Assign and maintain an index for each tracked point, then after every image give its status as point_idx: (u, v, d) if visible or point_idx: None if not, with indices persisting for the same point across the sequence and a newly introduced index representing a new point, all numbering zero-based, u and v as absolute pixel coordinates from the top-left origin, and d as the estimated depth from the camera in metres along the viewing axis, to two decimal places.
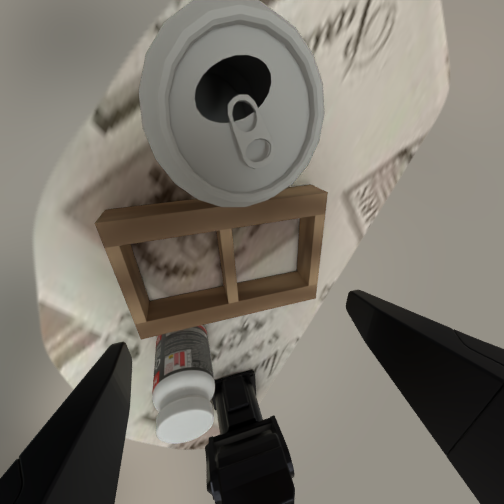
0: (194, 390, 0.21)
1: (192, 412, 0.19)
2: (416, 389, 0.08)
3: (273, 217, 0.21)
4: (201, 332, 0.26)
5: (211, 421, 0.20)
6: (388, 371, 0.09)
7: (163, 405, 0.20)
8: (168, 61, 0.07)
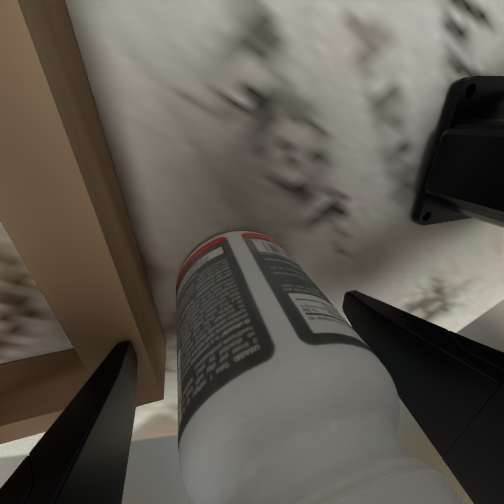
0: None
1: None
2: (412, 391, 0.08)
3: None
4: (198, 265, 0.09)
5: None
6: None
7: None
8: None
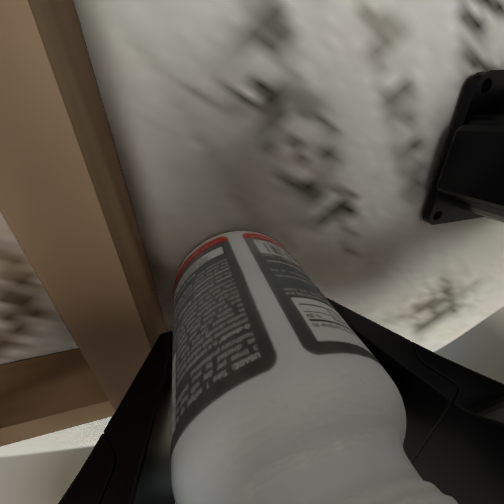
0: None
1: None
2: None
3: None
4: (196, 264, 0.09)
5: None
6: None
7: None
8: None
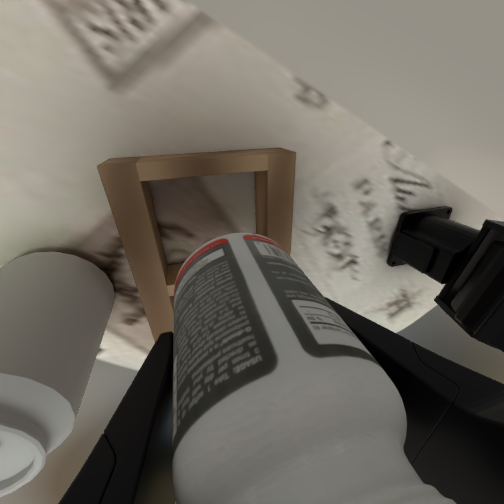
0: None
1: None
2: None
3: (148, 242, 0.16)
4: (197, 266, 0.09)
5: None
6: None
7: None
8: None
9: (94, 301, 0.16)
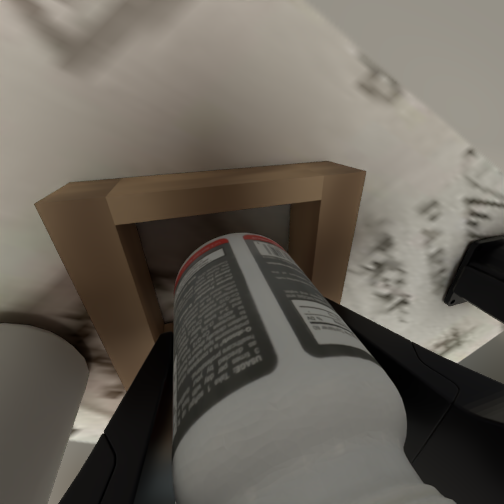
0: None
1: None
2: None
3: (133, 314, 0.10)
4: (197, 266, 0.09)
5: None
6: None
7: None
8: None
9: (46, 409, 0.10)
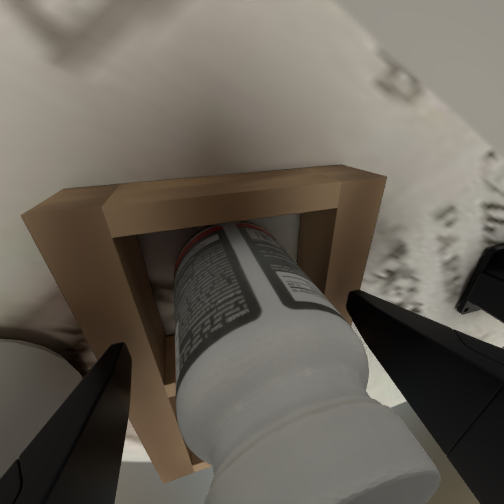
0: (221, 434, 0.05)
1: None
2: (416, 389, 0.08)
3: (132, 332, 0.09)
4: (195, 249, 0.10)
5: (382, 488, 0.04)
6: (388, 371, 0.09)
7: None
8: None
9: None
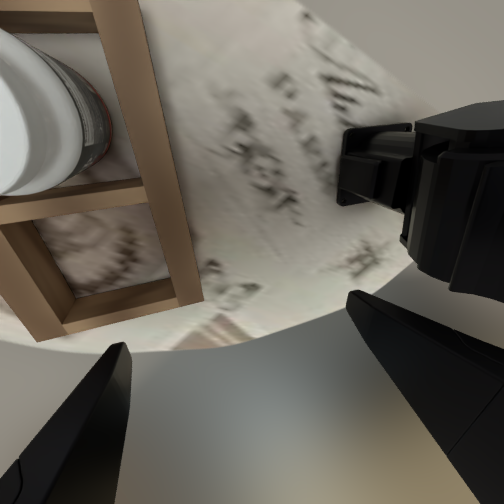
0: None
1: None
2: (416, 389, 0.08)
3: None
4: None
5: None
6: (388, 371, 0.09)
7: None
8: None
9: None
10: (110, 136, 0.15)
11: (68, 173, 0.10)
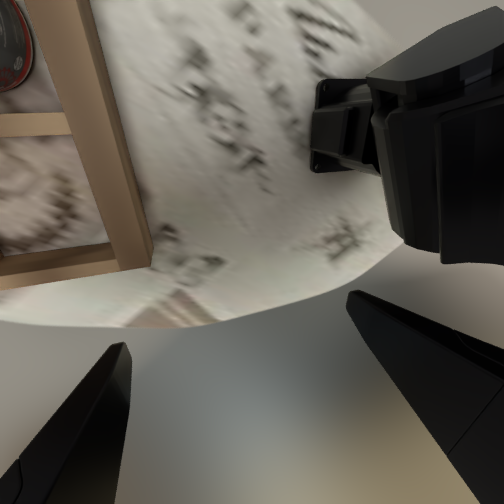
0: None
1: None
2: (416, 389, 0.08)
3: None
4: None
5: None
6: (388, 371, 0.09)
7: None
8: None
9: None
10: (28, 52, 0.12)
11: None
